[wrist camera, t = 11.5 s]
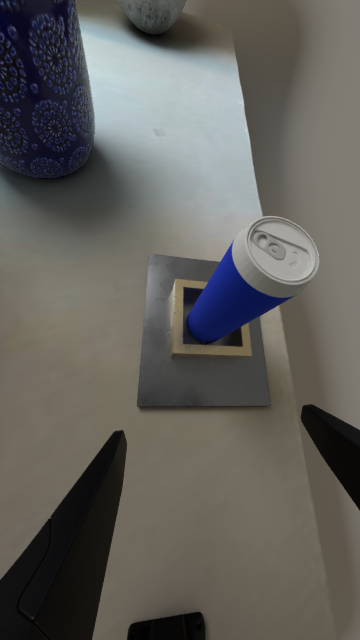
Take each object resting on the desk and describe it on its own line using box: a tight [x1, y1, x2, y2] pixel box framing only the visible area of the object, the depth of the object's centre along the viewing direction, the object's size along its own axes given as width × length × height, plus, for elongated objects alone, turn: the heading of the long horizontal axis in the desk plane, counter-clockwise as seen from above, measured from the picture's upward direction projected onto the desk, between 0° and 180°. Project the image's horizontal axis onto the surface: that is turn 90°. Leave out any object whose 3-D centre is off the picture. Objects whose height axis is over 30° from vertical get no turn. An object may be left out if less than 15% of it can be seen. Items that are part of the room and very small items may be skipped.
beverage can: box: [187, 216, 319, 343], centre depth 17 cm, size 5×5×15 cm
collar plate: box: [137, 254, 271, 406], centre depth 23 cm, size 20×16×4 cm
